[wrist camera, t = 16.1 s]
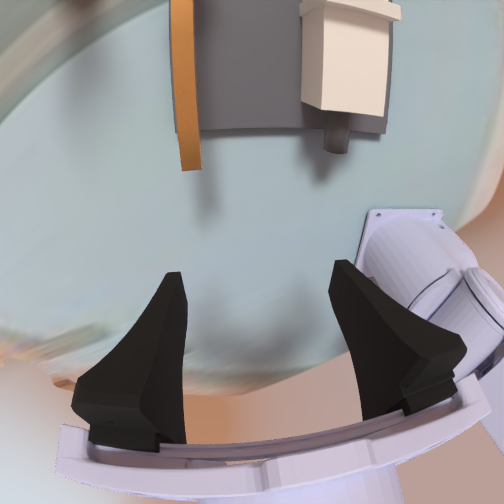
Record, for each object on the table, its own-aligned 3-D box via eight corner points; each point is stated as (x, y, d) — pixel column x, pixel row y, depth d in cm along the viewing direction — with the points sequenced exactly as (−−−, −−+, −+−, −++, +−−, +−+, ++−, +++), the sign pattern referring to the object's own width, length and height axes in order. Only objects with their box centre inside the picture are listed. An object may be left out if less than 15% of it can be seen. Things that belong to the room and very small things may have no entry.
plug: (356, -53, 9) (391, -74, 5) (352, 143, 19) (387, 168, 15) (297, -66, 8) (319, -96, 4) (296, 141, 19) (319, 165, 14)
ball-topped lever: (215, 162, 14) (215, 169, 14) (171, 166, 14) (168, 174, 13) (210, -83, 5) (209, -92, 4) (163, -77, 5) (159, -85, 4)
